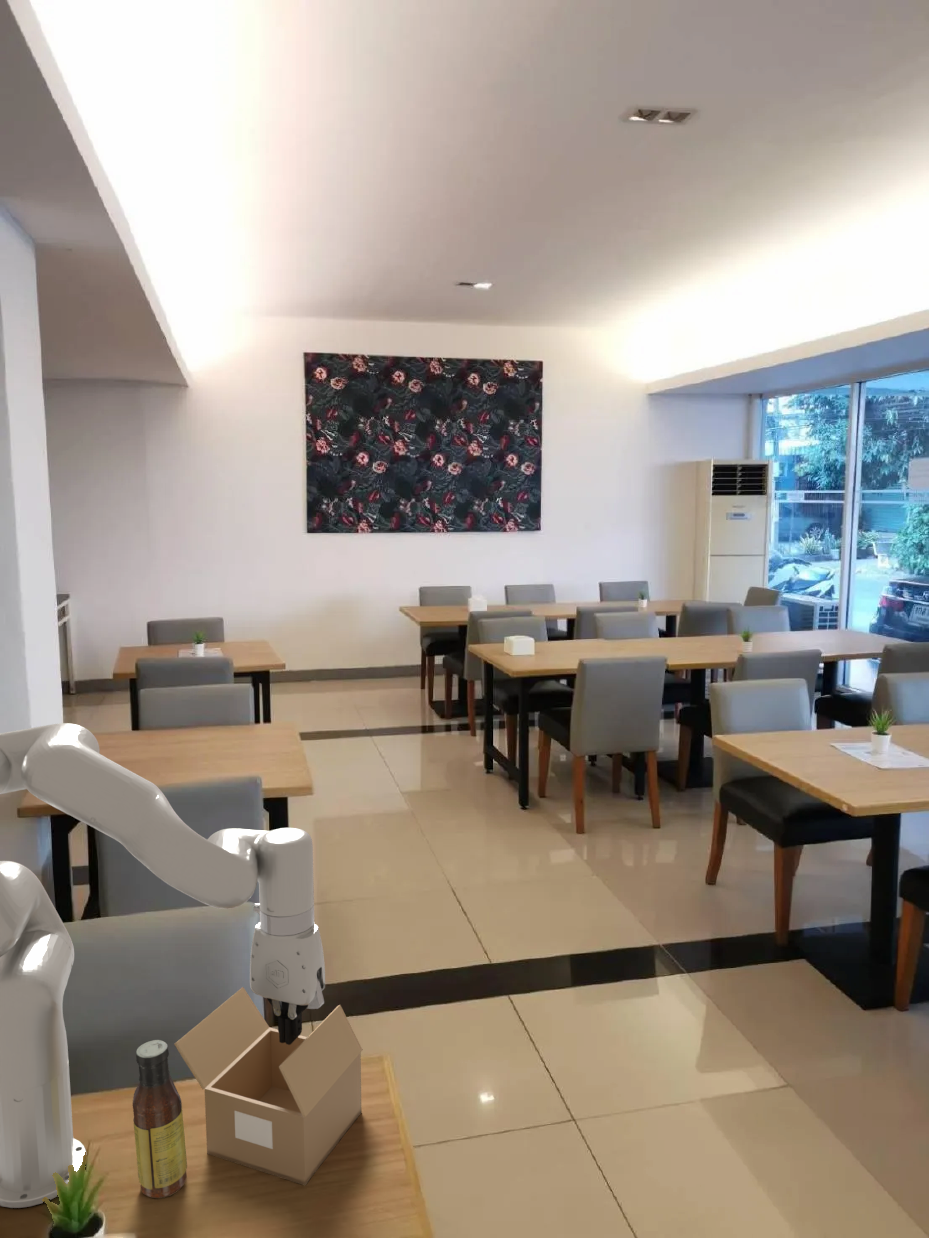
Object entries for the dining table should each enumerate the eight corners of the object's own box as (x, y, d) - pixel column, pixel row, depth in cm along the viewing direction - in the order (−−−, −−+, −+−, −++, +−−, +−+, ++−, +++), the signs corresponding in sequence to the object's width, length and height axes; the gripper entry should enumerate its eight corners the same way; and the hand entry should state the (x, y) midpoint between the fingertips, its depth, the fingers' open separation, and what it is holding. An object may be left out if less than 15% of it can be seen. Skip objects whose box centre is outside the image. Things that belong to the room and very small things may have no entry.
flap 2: (360, 1050, 138) (362, 1049, 138) (303, 1117, 123) (305, 1116, 123) (338, 1005, 138) (340, 1004, 138) (278, 1066, 124) (280, 1065, 124)
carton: (206, 1154, 130) (204, 1088, 129) (271, 1086, 145) (269, 1027, 144) (304, 1185, 125) (303, 1117, 123) (361, 1112, 139) (360, 1050, 138)
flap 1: (204, 1088, 129) (202, 1089, 129) (269, 1027, 144) (267, 1028, 144) (175, 1042, 130) (174, 1044, 130) (243, 986, 145) (241, 987, 145)
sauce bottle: (194, 1168, 128) (189, 1035, 125) (176, 1203, 121) (170, 1063, 119) (149, 1165, 128) (142, 1032, 126) (128, 1199, 122) (121, 1060, 119)
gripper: (226, 919, 129) (230, 1041, 132) (319, 939, 124) (322, 1065, 126) (257, 897, 136) (261, 1013, 139) (347, 915, 131) (349, 1035, 133)
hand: (290, 1038), depth 133 cm, fingers closed
